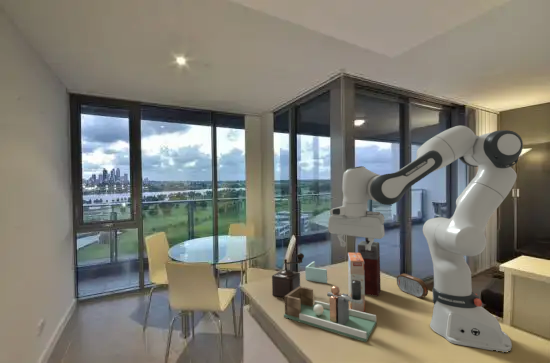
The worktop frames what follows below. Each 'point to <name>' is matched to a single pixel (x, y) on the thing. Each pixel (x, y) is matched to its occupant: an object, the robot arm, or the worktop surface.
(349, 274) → the cracker box
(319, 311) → the ball
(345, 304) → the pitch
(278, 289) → the manual coffee grinder
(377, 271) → the toy vending machine
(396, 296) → the worktop surface
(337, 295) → the black head mallet
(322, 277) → the right angle wall
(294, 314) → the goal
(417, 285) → the tin
